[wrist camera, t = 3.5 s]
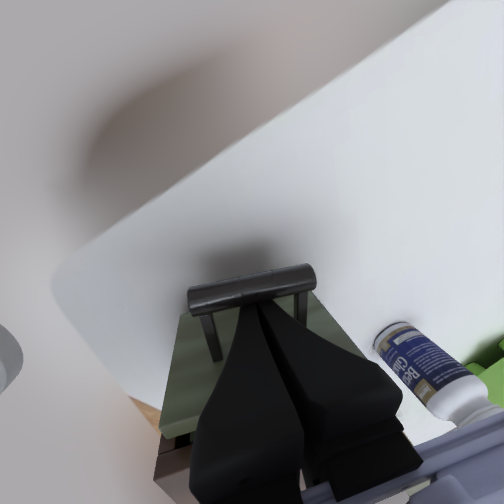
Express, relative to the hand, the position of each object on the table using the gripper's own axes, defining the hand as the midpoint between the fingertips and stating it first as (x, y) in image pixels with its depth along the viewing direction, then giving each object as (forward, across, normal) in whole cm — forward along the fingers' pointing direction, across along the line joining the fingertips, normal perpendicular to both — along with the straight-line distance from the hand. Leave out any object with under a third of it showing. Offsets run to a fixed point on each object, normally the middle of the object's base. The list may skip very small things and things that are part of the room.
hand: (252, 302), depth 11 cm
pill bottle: (+4, -18, +14) cm, 23 cm away
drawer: (+3, 0, +6) cm, 7 cm away
